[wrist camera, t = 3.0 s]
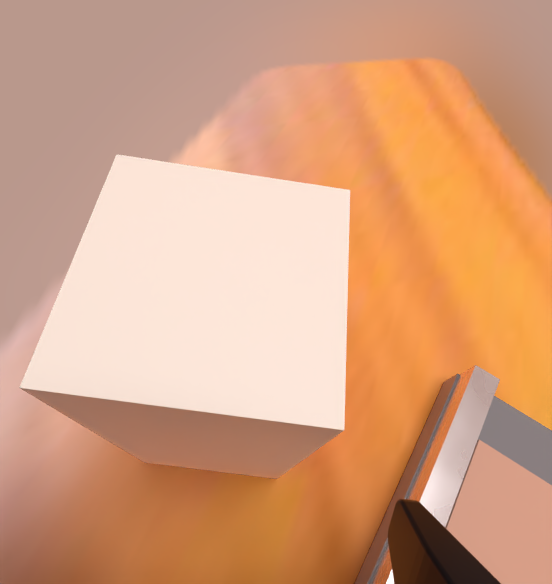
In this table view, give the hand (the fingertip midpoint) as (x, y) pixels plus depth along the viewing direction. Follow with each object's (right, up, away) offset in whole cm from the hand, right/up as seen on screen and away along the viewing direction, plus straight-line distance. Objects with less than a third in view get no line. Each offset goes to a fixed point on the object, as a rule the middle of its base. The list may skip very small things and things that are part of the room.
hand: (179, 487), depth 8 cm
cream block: (-1, -1, +12) cm, 12 cm away
